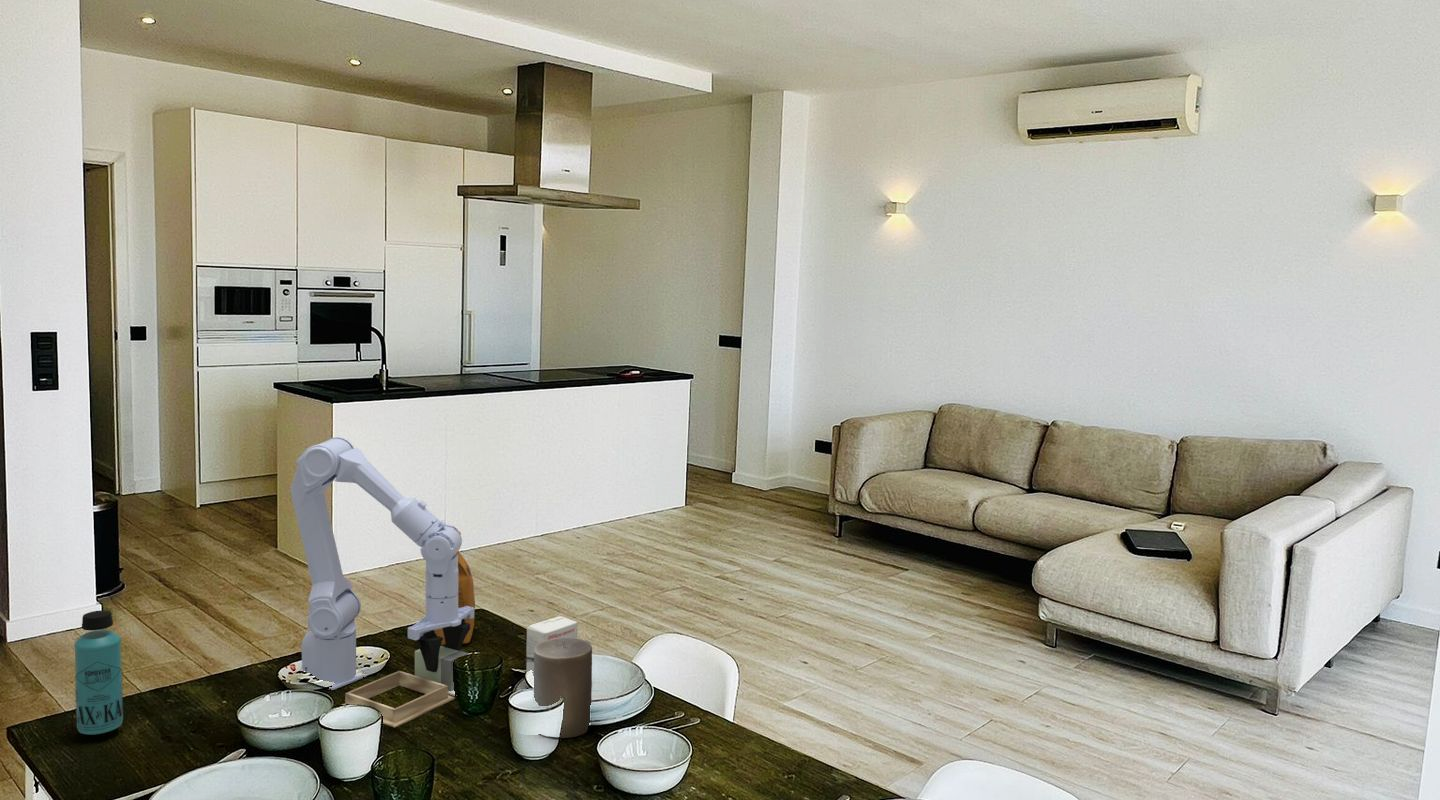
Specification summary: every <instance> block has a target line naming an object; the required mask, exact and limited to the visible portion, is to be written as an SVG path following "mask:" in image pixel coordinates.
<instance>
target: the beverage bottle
mask: <svg viewBox="0 0 1440 800" xmlns="http://www.w3.org/2000/svg"><path fill="white" fill-rule="evenodd" d="M112 614H113V613H112V612H111V611H109V610H94V611H90V612H87V613H85V614H83V615H82V619H81V629H82V630H84V631H88V632H86V633H84V634H82V635H81V636H80V637H79V638H78V639H77V640H76V641H75V642H74V644H73V645H74V646H73V647H74V663H75V665H74V666H75V667H74V668H75V676H74V678H73V679H74V681H75V684H74V687H75V688H74V695H75V700H74V703H75V711H74V712H75V714H74V716H75V725H76V729H77V731H78V732H79V733H80V734H82V735H100V734H105V733H108V732H112V731H113V730H116V729H117V728H119V727H121V726H122V723H123V722H124V718H125V716H124V715H125V713H124V711H125V710H124V709H125V706H124V696H123V690H124V687H123V673H124V672H123V670H122V649H121V648H122V647H121V646H122V644H121V642H122V638H121V636H120V635H119V634H118V633H116V632H114V631H112V630H109V629H108V628H111V627H112V626H114V622H113V621H114V620H113V616H112Z"/></svg>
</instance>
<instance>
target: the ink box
mask: <svg viewBox="0 0 1440 800" xmlns="http://www.w3.org/2000/svg"><path fill="white" fill-rule="evenodd" d="M578 625H579V624H578V621H575V620H572V619H569V618H567V617H565V616H558V615H557V616H555V617H552V618H548V619H546V620H543V621H540V622H536V623H533V624H530V625H529V626H528V627H526V668H525V669H526V673H527V672H528V671H530V670H532V671H533V672H532V673H533V676H534V648H535V646H536V645H538V644H539V643H542V642H544V641H546V640H551V639H554V638H555V639H556V638H576V639H578V627H579V626H578Z"/></svg>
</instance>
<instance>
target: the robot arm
mask: <svg viewBox="0 0 1440 800" xmlns="http://www.w3.org/2000/svg"><path fill="white" fill-rule="evenodd" d="M295 462H296V466H297V468H296V470H295V473H294V477H293V480H292V482H291V483H292V484H291V487H290V495H291V499H292V504H293V508H294V512H295V517H296V521H297V526H298V529H299V533H300V538H301V543H302V545H303V551H304V554H305V560H306V564H307V568H308V571H309V576H310V581H311V590H310V593H309V595H308V596H309V597H308V599H307V600H308V601H307V602H308V607H309V611H308V612H309V613H308V616H307V625H308V628H309V630H308V631H307V632H306V633H305V635H304V636H303V639H302V642H301V671H302V670H303V671H305V672H307V673H310V674H312V675H313V676H315V677H316V678H317V679H319V680H323V681H329V682H334V683H335V684H333V685H331V686H332V687H329V689H328V690H330V689H331V690H330V691H334V690H338V689H339V688H342V687H345V686H346V685H349V684H352V683H354V682H357V681H359V680H362V679H364V678H366V677H367V676H368V673H367V674H365V675H361V676H356V677H355V675H356V670H357V626H356V622H355V619H356V618H357V617H358V616H359V615H360V612H361V607H362V604H361V600H360V598H359V597H358V595H357V594H356V593H355V591H354V589H353V587H352V583H351V581H350V580H349V579H348V578H346V577H345V576H344V574H343V569H342V564H341V561H340V556H339V552H338V549H337V548H338V547H337V543H336V538H335V535H334V531H333V526H332V522H331V518H330V513H329V509H328V504H327V500H326V496H325V494H326V493H325V492H326V491H327V490H328V489H329V488H330V486H331V484H332V483H333V482H336V483H350V484H352V483H353V484H356V485H358V487H360V488H361V489H362V490H364V491H365V492H366V493H367V494H368V495H370V496H371V497H372V498H374V499H375V501H376V502H379V503H380V505H382V506H383V507H384V508H386V509H387V510H388V511H389V512H390V517H391V518H390V519H391V522H392V523H393V525H394V526H396V527H397V528H398V529H399V530H400V531H402V533H403V534H405V536H407V537H408V538H409V540H411V541H412V542H413V543H415V544H416V545H417V546H418V547H420V553H421V556H422V559H423V560H425V616H424V617H423V618H422V619H421V620H419V621H418V622H416V623H415V624H413V625H412V626H408V627H407V639H409V640H413V641H415V643H416V644H417V647H418V649H420V651H421V653H422V656H423V659H424V663H425V666H426V670H427V671H431V672H436V671H437V669H438V658H439V650H440V646H442V645H441V643H442V640H443V638H442V637H439V636H436V634H435V631H437V630H439V629H443V633H444V638H445V645H444V647H447V648H450V649H454V650H457V651H462V647H463V644H464V643H463V641H464V639H465V637H466V635H467V633H468V632H469V630H470V624H469V623H466V622H465V619H467V618H468V619H472V618H474V619H475V614H474V608H473V607H469V606H465V607H462V608H458V555H455V554H456V553H457V552H458V551H459V552H460V550H461V548H462V543H463V539H462V535H460V533H461V532H460V531H459V530H458V531H459V532H460V533H459V532H458V531H457V529H458V528H457V529H456V527H455V526H454V525H451V524H447V523H446V522H445V521H444V520H442V519H441V520H440V519H439V518H437V516H436V515H435V514H433V513H432V512H431V511H430V510H429V509H428V508H427V503H426V502H425V501H424V500H423V499H421V500H418V499H417V498H416V497H415V498H414V497H405V496H403V494H402V493H401V492H400V491H399V490H398V489H397V488H396V487H395V486H394V485H393V484H392V483H391V482H390V481H389V480H388V479H387V478H386V477H385V476H384V475H383V474H382V473H381V472H380V471H379V470H378V469H377V468H376V467H375V466H374V465H373V464H372V462H370V461H369V460H368V458H367V457H366V455H365V454H364V452H363V451H362V450H360V449H359V448H357V447H355V446H354V445H353V443H352V442H351V441H349V439H346V438H344V437H340V436H336V437H331V438H329V439H327V440H325V441H323V442H321V443H319V444H313V445H311V446H309V447H308V448H306V450H305V451H304V452H302V454H301V455H300V456H299V457H298V459H297V460H296V461H295ZM366 675H367V676H366ZM363 677H364V678H363Z"/></svg>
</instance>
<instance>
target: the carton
mask: <svg viewBox="0 0 1440 800" xmlns="http://www.w3.org/2000/svg"><path fill="white" fill-rule="evenodd" d="M399 686H400V687H403V688H406V689H409V690H412V691H416V692H418V693H422V694H424V695H421V696H419V697H417V698H414V699H413V700H411V701H408V702H406V703H404V704H402V705H399V706H397V707H395V708H394V707H392V706H389V705H386V704H383V703H381V702H378V701H374V700H371V698H373V697H376V696H377V695H380V694H382V693H385V692H387V691H390V690H392V689H395V688H397V687H399ZM344 697H345V698H344V699H345V700H344V702H345V703H343V704H341V705H346V704H361V705H367V706H371V707H374V708H376V709H378V710H379V711H380V712H381V714H382V716H383V723H382V724H383V725H386V726H388V727H391V728H392V727H393V728H396V727H400V726H401V725H404V724H405V723H408V722H409V721H412V720H414V719H416V718H417V717H420V716H422V715H424V714H426V713H428V712H430V711H432V710H434V709H436V708H438V707H442V706H443V705H445V704H447V703H449V702H451V701H453V700H455V699H456V697H455V696H453V695H450V694H448V686H447V685H444V684H440V683H437V682H434V681H431V680H428V679H425V678H421V677H418V676H415V674H412V673H408V672H405V671H401V670H397V671H396V672H393V673H390V674H388V675H385V676H383V677H380V678H378V679H376V680H374V681H371V682H369V683H366V684H363V685H362V686H359V687H356V688H354V689H352V690H350V691H348V692H345V693H344Z"/></svg>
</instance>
